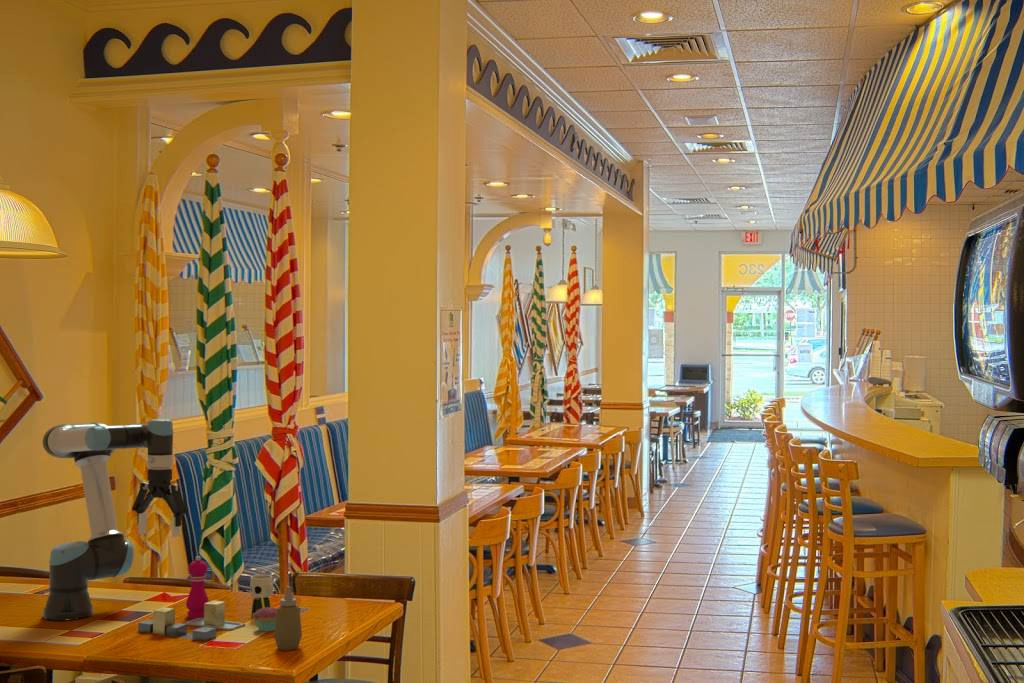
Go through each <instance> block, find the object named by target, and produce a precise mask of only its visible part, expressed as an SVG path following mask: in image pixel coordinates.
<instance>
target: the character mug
mask: <svg viewBox="0 0 1024 683" xmlns="http://www.w3.org/2000/svg"><path fill="white" fill-rule="evenodd" d="M273 580H274V578H273V575H271V574H255V575H252V576H251V577H250V582H249V589H250V591H249V593H250V596H251V597H252V598H253V600H252V606H251V613H250V614H251V616H252V617H253V615H254V613H255V612H256V611H257V610H259V609H262V601H261V593H262V595H263V600H264V606H265V608H266V607H271V602H270V598H269V597H272V595H273V593H274V583H273Z"/></svg>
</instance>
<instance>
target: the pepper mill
mask: <svg viewBox="0 0 1024 683" xmlns="http://www.w3.org/2000/svg"><path fill="white" fill-rule="evenodd" d="M201 559H202V557H201V556H200V555H196V556H195V560H193V561H192V562H190V564H189V565H188V569H187V570H188V573H189V574H190V576H189V581H190V584H191V586H190V591H189V593H188V596H187V597H186V601H185V607H186V609H188V611H187V616H186V617H187V618H190V619H197V618H204V603H207V602H210V600H209V596H208V594H207V592H206V588H205V580H207V578H206V577H207V575H206V573H207V572H208V565H207V564H208V563H206V562H205V561H204V560H201Z"/></svg>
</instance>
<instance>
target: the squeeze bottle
mask: <svg viewBox="0 0 1024 683" xmlns="http://www.w3.org/2000/svg"><path fill="white" fill-rule="evenodd" d="M285 587H286V588H285V592H284V596H283V598H281V599H280V600H279V601H280V606H278V607H277V608H276V609H277V614H276V623H275V630H274V632H273V634H274V635H273V637H274V641H275V643H276V647H277V649H278V650H280V651H292V650H293V649H294V650H296V649H298V648H299V645H300V643H301V640H302V637H303V634H302V633H303V631H302V622H301V611H300V610H301V609H300V606H298V605H297V598H295V597H294V596H293V593H292V587H291V586H288V585H287V586H285Z"/></svg>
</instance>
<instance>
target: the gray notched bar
mask: <svg viewBox="0 0 1024 683" xmlns="http://www.w3.org/2000/svg"><path fill="white" fill-rule="evenodd" d="M137 632H140V633H146V634H153V635H156V634H155V633H153V618H152V619H150V618H149V619H146V620H142V621H140V622H138V624H137ZM158 635H161V636H163V635H162V634H158ZM165 636H167V637H173V638H174V637H175V638H181V639H188V640H196V641H201V642H207V641H210V640H213V639H215V638H216V637H217V629H216V628H209V627H198V628H196V629H192V633H190V632H188V625H187V624H185V623H175V624H174V625H171V626H168V627H167V634H166V635H165Z"/></svg>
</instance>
